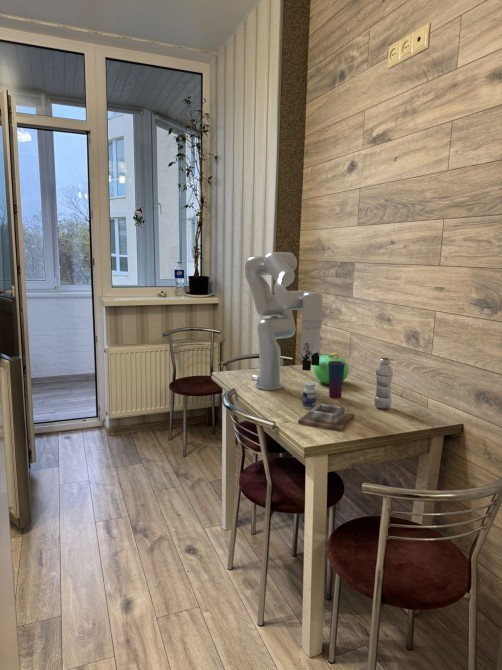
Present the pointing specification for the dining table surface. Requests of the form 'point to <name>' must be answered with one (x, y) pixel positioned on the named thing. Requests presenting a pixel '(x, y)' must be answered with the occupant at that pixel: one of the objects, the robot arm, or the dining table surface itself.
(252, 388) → the dining table surface
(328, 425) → the square frame tray
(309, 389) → the pill bottle
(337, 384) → the cup
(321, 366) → the green round vessel
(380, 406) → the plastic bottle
